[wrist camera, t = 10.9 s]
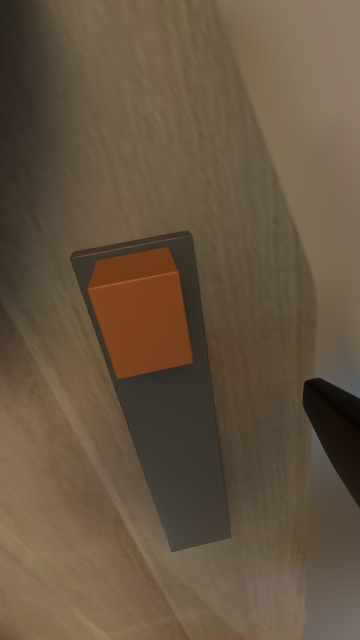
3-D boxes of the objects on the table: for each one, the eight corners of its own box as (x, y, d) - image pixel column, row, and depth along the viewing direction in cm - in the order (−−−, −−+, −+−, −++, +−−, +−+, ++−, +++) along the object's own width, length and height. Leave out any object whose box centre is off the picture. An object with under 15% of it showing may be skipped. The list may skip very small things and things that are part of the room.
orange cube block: (95, 260, 14) (86, 288, 11) (168, 246, 15) (178, 270, 12) (119, 338, 17) (116, 380, 14) (182, 325, 17) (194, 363, 14)
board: (72, 251, 15) (69, 257, 14) (188, 230, 15) (191, 234, 15) (170, 541, 30) (171, 552, 29) (228, 526, 30) (231, 537, 29)
